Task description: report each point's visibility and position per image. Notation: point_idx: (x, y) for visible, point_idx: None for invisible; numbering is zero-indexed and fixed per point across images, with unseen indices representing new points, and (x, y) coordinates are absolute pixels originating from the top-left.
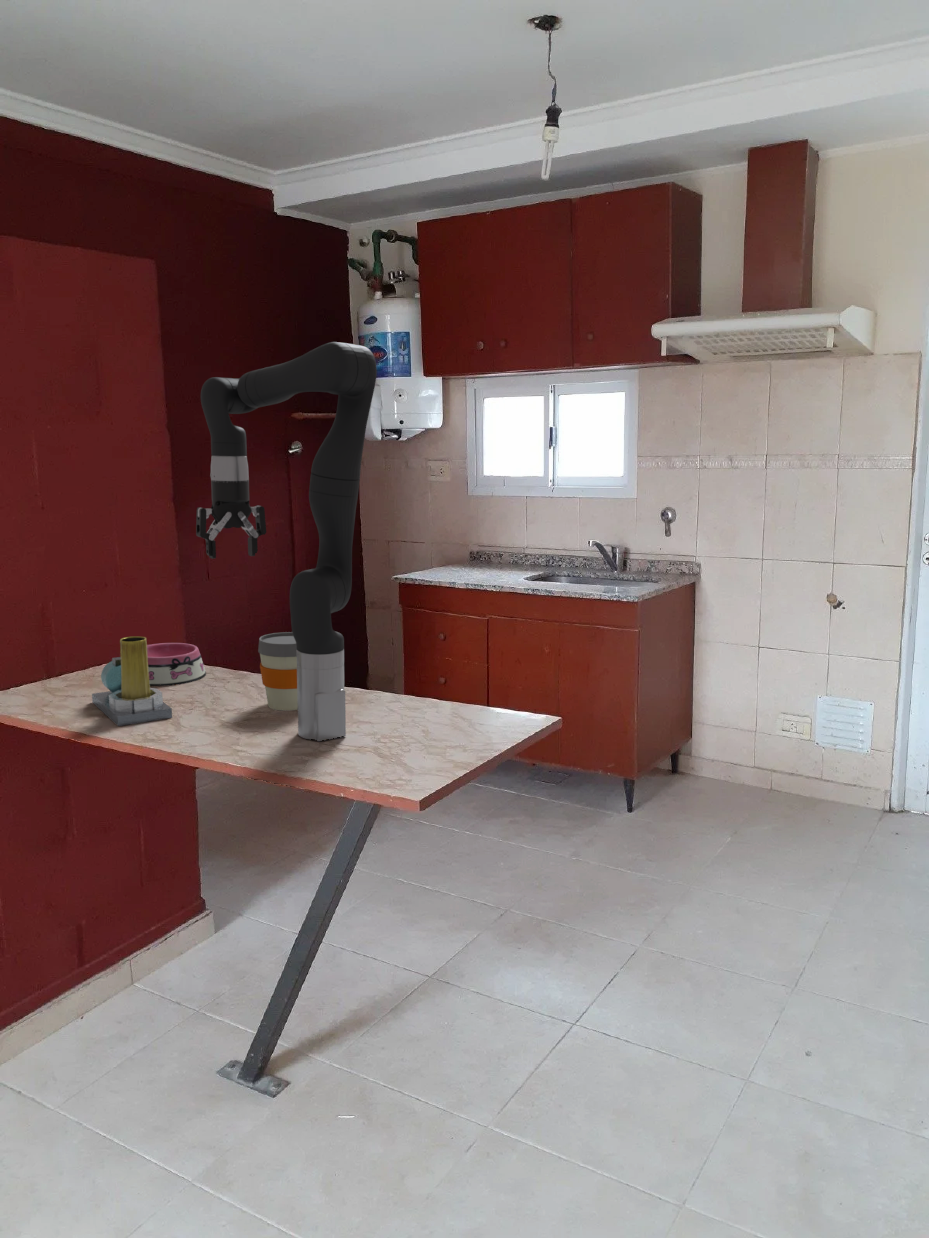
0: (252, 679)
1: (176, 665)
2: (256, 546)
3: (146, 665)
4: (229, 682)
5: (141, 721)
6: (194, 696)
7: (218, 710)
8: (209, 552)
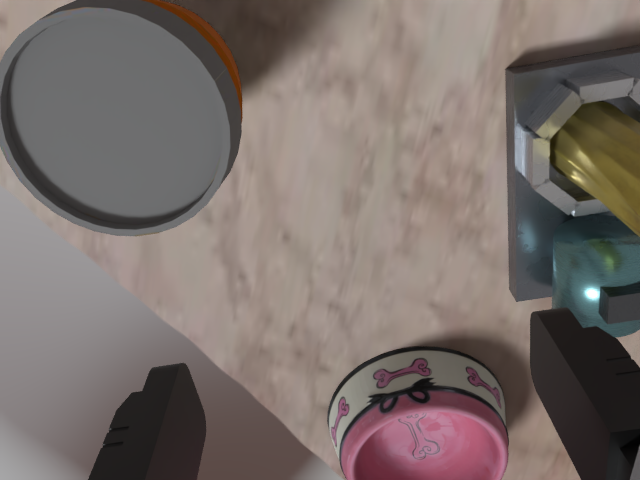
0: (231, 333)
1: (417, 386)
2: (114, 441)
3: (618, 161)
4: (291, 326)
5: (591, 54)
6: (399, 240)
7: (373, 91)
8: (613, 347)
